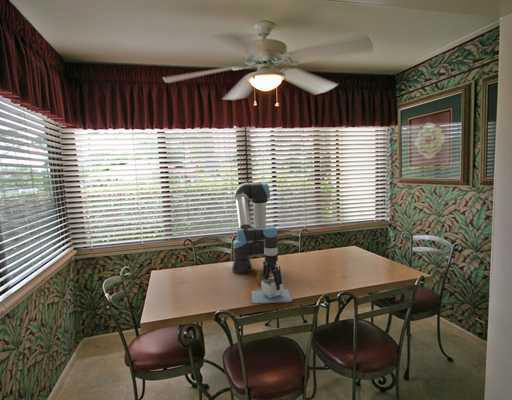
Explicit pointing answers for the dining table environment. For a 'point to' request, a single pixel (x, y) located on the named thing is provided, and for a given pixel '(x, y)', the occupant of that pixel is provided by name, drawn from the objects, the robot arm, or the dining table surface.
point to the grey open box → (270, 287)
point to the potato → (260, 276)
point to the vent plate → (262, 298)
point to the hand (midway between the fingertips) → (272, 292)
